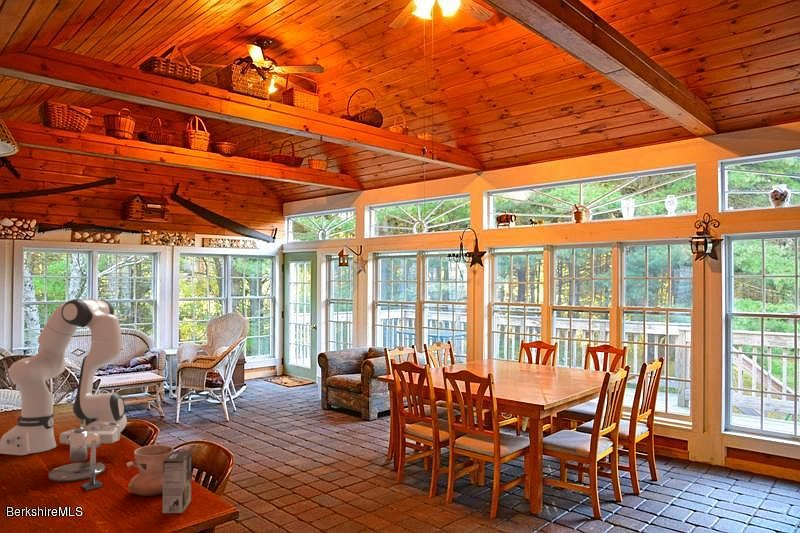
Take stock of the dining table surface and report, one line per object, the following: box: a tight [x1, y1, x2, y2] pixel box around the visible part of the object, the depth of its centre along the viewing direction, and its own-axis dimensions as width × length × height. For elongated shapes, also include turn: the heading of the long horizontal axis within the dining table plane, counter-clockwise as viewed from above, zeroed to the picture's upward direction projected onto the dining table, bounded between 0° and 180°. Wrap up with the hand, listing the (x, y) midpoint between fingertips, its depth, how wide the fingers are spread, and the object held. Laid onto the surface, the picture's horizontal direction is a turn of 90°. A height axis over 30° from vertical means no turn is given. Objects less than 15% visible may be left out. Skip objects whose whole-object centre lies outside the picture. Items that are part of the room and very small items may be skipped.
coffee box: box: [161, 451, 192, 514], centre depth 177 cm, size 9×6×16 cm
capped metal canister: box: [69, 426, 88, 463], centre depth 206 cm, size 6×6×12 cm
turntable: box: [48, 461, 106, 483], centre depth 206 cm, size 18×18×1 cm
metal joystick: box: [81, 433, 103, 491], centre depth 193 cm, size 5×5×18 cm
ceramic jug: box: [126, 444, 175, 497], centre depth 190 cm, size 18×14×14 cm
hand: (77, 442), depth 205 cm, fingers closed on capped metal canister, 5 cm apart
